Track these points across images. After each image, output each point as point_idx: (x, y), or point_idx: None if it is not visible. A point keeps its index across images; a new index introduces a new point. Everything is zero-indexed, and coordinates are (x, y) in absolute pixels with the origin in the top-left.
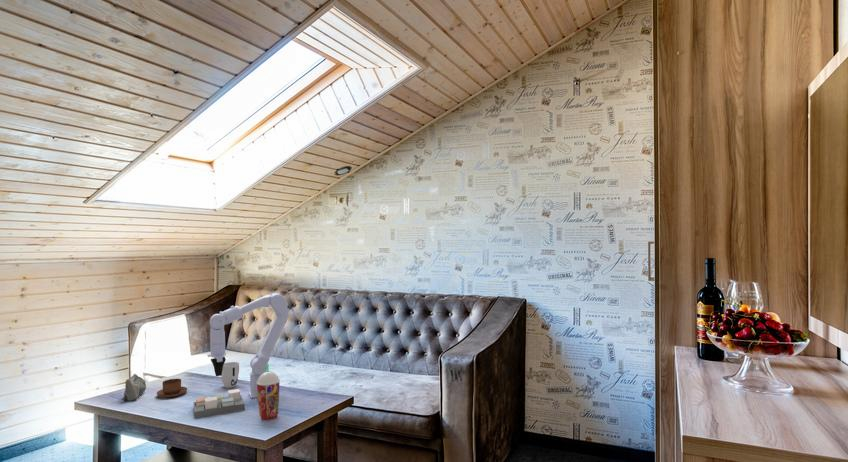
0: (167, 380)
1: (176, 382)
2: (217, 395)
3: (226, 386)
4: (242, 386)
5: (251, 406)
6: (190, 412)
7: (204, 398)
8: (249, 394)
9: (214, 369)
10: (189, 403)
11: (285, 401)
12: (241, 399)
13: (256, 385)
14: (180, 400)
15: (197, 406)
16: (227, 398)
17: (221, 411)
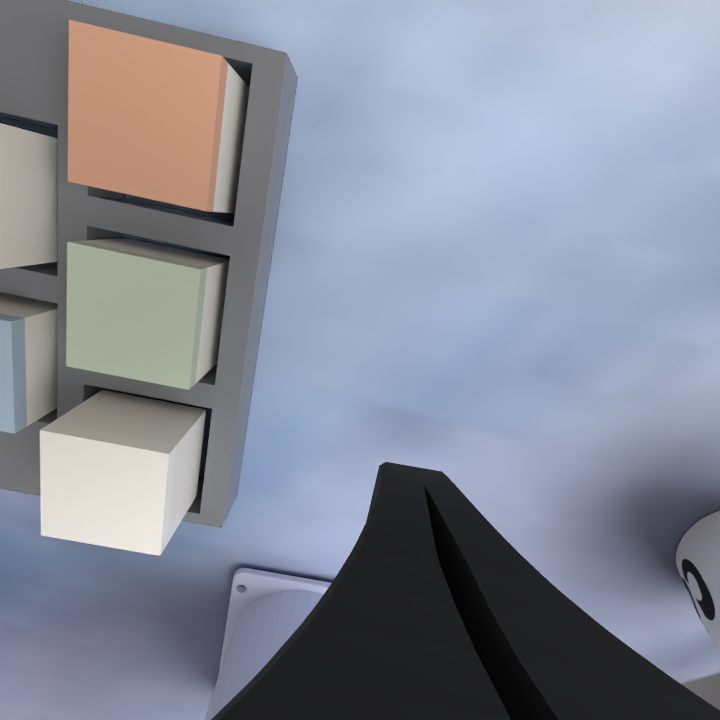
0: None
1: None
2: (189, 327)
3: (714, 521)
4: (626, 613)
5: (36, 508)
6: (172, 6)
7: (157, 160)
8: (327, 586)
9: (409, 536)
10: (505, 84)
11: (25, 696)
12: None
13: (215, 700)
14: (705, 21)
15: None
16: (2, 381)
17: None
